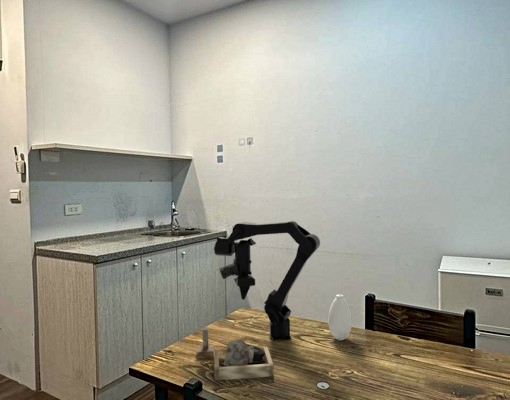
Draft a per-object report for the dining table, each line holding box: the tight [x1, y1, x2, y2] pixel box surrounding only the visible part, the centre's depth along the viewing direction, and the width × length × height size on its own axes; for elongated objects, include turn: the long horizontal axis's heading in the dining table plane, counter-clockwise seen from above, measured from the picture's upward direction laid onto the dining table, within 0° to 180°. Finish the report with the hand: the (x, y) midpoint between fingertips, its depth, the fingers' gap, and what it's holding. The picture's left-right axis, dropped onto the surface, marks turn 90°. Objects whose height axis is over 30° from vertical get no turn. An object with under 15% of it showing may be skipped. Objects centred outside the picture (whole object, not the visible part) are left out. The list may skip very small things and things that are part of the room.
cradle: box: [213, 346, 275, 381], centre depth 106 cm, size 16×12×3 cm
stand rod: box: [196, 327, 215, 359], centre depth 115 cm, size 5×5×8 cm
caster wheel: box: [223, 339, 264, 367], centre depth 110 cm, size 7×11×10 cm
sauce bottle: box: [327, 287, 353, 341], centre depth 125 cm, size 8×8×18 cm
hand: (243, 299), depth 132 cm, fingers closed
